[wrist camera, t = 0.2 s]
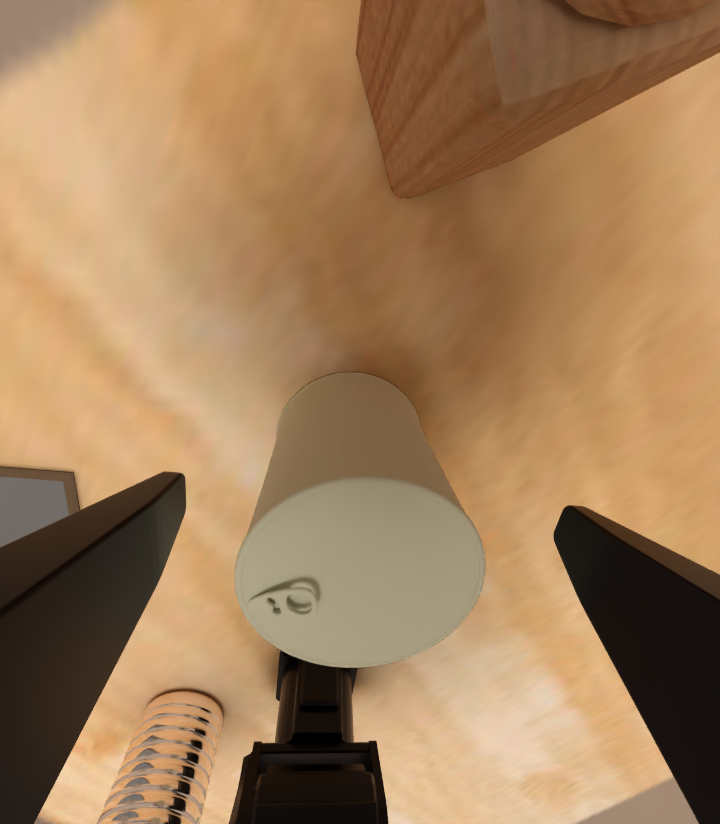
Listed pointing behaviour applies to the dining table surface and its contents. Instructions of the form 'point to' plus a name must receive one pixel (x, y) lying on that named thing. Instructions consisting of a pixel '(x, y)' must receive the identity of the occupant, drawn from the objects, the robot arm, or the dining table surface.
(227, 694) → the dining table surface
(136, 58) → the dining table surface
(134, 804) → the water bottle
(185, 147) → the dining table surface
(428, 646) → the can
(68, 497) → the board
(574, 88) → the decorative item
